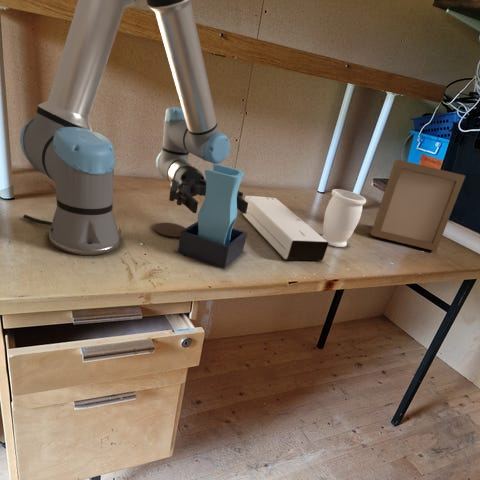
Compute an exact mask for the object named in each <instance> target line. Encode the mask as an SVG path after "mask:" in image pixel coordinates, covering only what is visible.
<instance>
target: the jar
mask: <svg viewBox="0 0 480 480" xmlns="http://www.w3.org/2000/svg"><path fill="white" fill-rule="evenodd" d="M366 203H367V199H366V198H365V197H364V196H363V195H360V194H358V193H356V192H353V191H350V190H345V189H341V188H338V189H337V188H334V189H332V190H331V198H330V199H329V201H328V203H327V205H326V208H325V211H324V217H323V224H322V232H323V234H322V235H320V236H321V237H322V238H324V239H325V240H326V241H327V242H328V246H332V247H336V248H345V247H346V246H347V245H348V242H347V241H348V240H349V239H350V238H351V237H352V235H353V234H354V231H355V229H356V228H357V226H358V224H359V222H360V220H361V216H362V213H363V205H365V204H366Z"/></svg>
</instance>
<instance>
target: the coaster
mask: <svg viewBox="0 0 480 480" xmlns="http://www.w3.org/2000/svg"><path fill="white" fill-rule="evenodd" d="M185 228H186V227H184V226H182V225H180V224H176V223H172V222H161V223H157V224H155V225H154V227H153V231H154V232H155V233H157V234H158V235H160V236H163V237H167V238H172V239H180V234H181V231H182V230H184V229H185Z"/></svg>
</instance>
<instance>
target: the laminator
mask: <svg viewBox="0 0 480 480" xmlns="http://www.w3.org/2000/svg"><path fill="white" fill-rule="evenodd" d="M243 200H245V201H246V202H248V207H247V212H246V214H243V213H242V212H241V213H242V216H243V217H244V219H246V220H247V222H249V224H250V225H251V226H252V227H253V228H254V229H255V230H256V231H257V232H258V233H259V235H261V236H262V238H264V239H265V241H266V242H267V243H268V244H269V246H271V247H272V248H273V250H275V251H276V252H277V254H278V255H279V256H280V257H281V258H282V259H283V260H284V261H319V262H321V261H323V260H324V257H325V255H326V252H327V250H328V246H329V244H328V242H327V241H326V240H325V239H324V238H322V237H321V236H322V235H320V234H319V233H318V232H317V231H315V230H314V229H313V228H312V227H311V226H310V225H308V224H307V222H305V221H303V219H301V218H300V217H299V216H298V215H296V213H294V212H293V211H292V210H290V209H289V208H288V207H287V206H286V205H285V204H283V202H281V201H280V200H279V199H278V198H276V197H270V196H258V195H248V194H246V195H244V198H243Z"/></svg>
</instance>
